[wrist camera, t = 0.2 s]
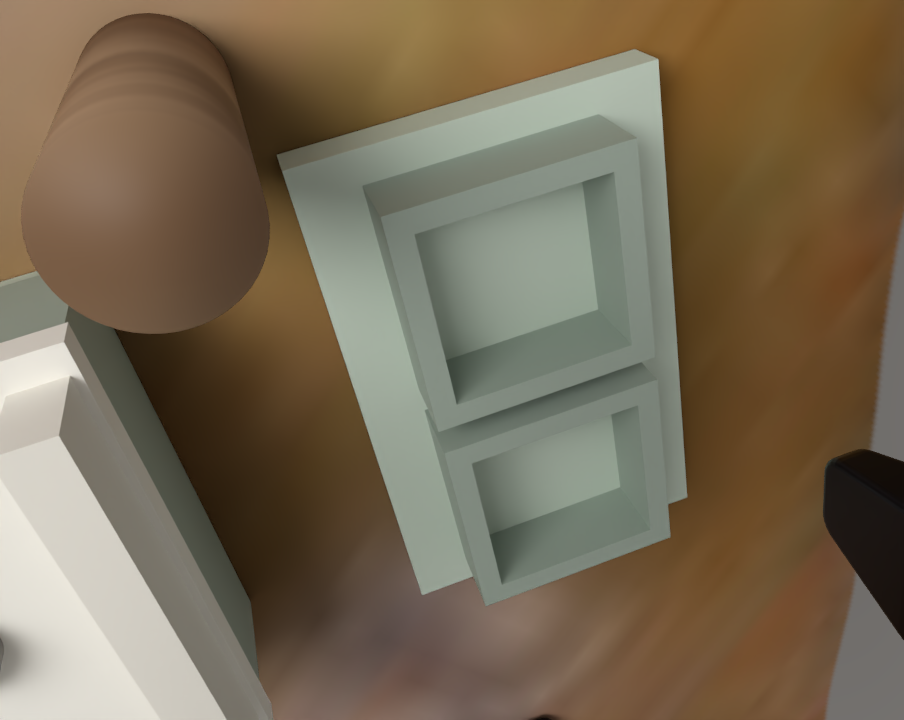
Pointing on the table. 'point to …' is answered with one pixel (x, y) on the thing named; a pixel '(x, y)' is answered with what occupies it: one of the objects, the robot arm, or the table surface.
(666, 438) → the build board
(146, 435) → the box
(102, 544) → the cover
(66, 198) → the dowel
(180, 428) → the table surface
